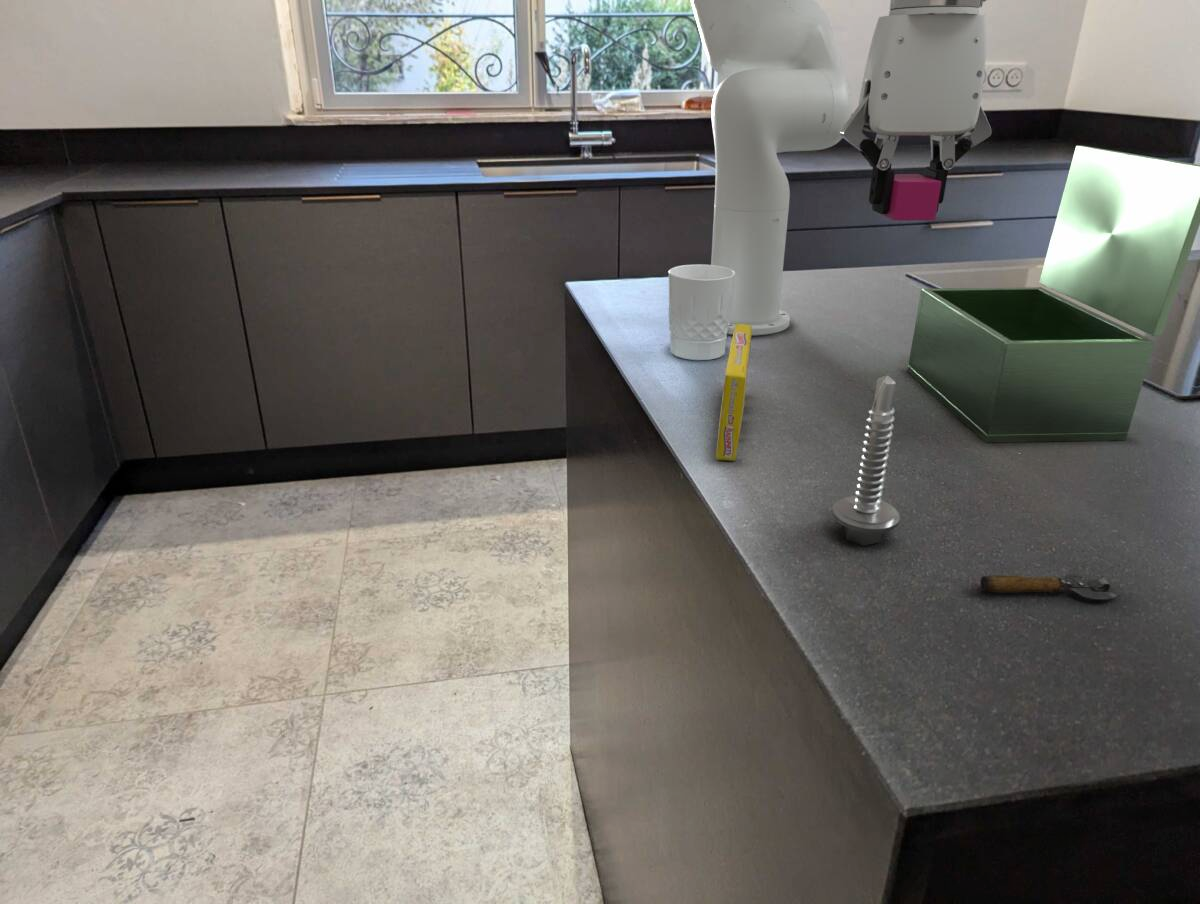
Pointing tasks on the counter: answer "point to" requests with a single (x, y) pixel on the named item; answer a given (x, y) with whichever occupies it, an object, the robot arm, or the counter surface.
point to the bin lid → (1124, 234)
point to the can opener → (1047, 585)
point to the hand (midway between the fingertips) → (904, 209)
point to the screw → (872, 476)
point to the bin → (1027, 364)
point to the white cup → (700, 310)
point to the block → (913, 197)
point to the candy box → (734, 393)
